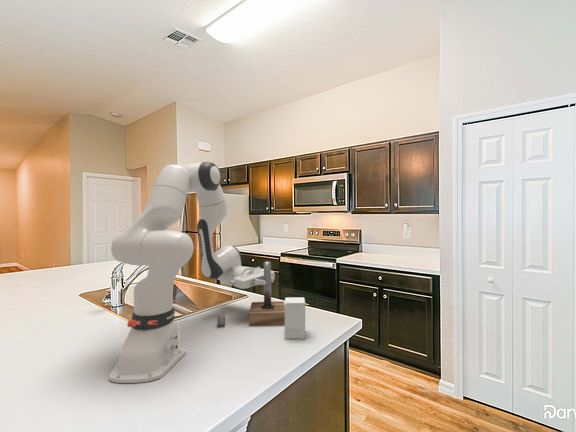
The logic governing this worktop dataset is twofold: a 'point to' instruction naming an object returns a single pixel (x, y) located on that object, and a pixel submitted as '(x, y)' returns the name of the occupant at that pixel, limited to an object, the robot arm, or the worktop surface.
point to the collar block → (267, 314)
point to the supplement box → (295, 318)
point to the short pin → (221, 320)
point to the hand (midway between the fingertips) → (269, 281)
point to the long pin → (268, 286)
